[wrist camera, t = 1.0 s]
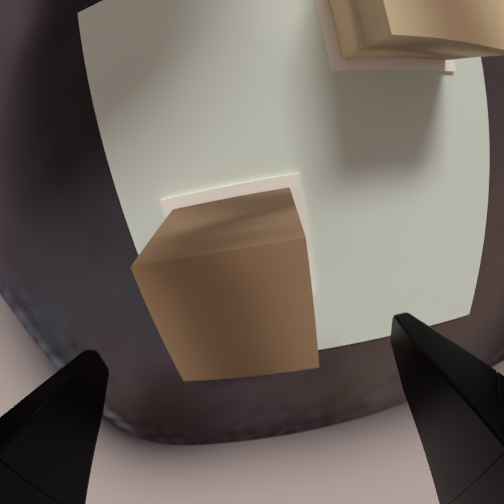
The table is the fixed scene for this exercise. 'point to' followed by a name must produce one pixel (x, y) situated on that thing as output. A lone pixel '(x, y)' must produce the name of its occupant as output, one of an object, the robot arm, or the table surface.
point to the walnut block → (232, 287)
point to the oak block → (419, 28)
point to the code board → (300, 146)
